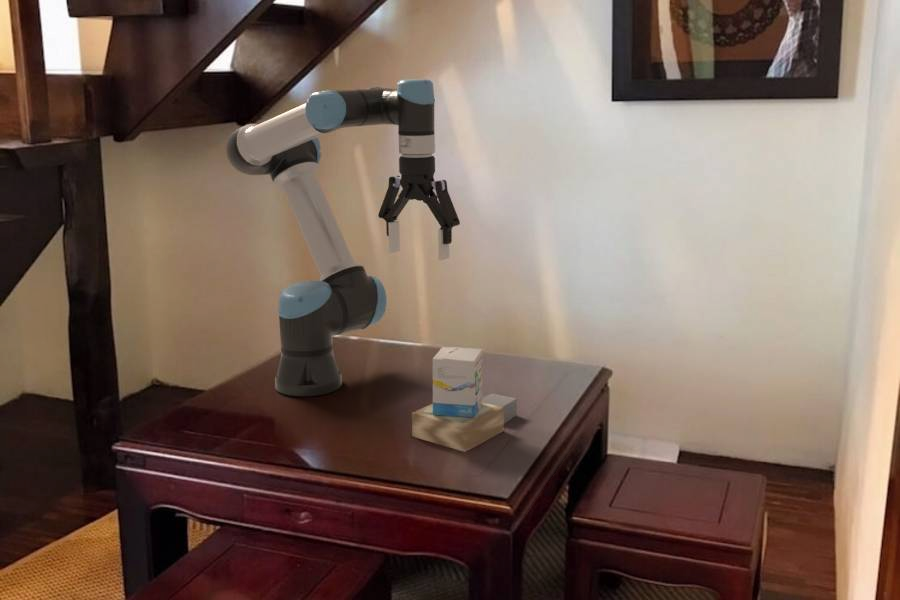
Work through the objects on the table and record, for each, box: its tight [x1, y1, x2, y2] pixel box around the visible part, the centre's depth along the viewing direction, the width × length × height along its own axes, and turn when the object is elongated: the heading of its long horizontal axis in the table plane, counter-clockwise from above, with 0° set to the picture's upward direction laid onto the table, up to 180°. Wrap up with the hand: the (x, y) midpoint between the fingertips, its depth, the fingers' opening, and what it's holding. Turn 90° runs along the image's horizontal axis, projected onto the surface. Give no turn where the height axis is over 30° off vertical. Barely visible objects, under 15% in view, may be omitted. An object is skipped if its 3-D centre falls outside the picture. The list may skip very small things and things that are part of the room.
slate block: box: [482, 393, 518, 424], centre depth 207 cm, size 6×6×4 cm
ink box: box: [432, 346, 483, 418], centre depth 196 cm, size 8×8×12 cm
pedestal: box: [411, 402, 505, 453], centre depth 198 cm, size 13×13×5 cm
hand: (418, 255), depth 213 cm, fingers open, 13 cm apart
